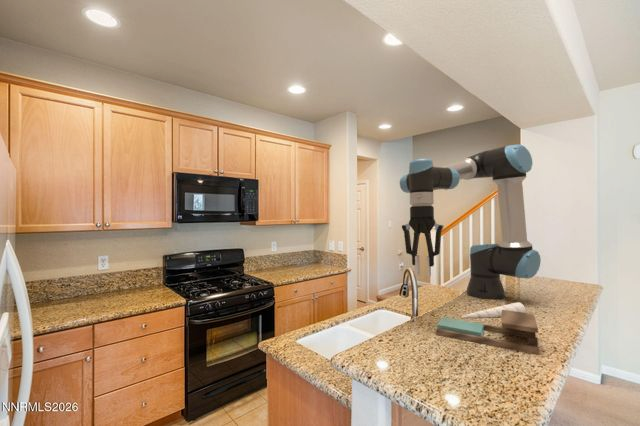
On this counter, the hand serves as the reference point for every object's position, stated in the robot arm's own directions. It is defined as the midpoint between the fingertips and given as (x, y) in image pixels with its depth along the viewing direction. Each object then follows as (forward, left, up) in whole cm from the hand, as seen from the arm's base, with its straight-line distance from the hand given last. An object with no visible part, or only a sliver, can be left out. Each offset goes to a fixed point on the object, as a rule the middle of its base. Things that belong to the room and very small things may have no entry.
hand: (423, 275), depth 96 cm
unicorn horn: (-4, +28, -17) cm, 34 cm away
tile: (+7, +8, -17) cm, 20 cm away
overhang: (+11, +14, -17) cm, 24 cm away
